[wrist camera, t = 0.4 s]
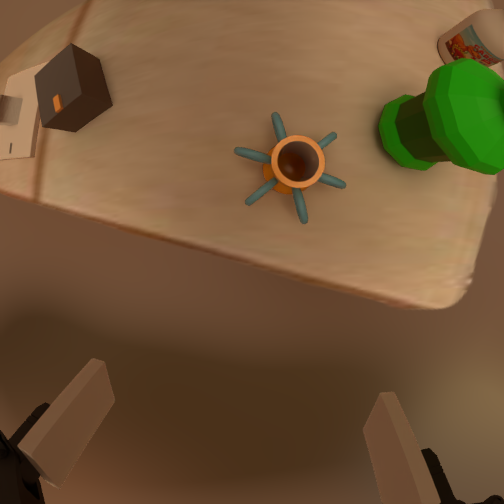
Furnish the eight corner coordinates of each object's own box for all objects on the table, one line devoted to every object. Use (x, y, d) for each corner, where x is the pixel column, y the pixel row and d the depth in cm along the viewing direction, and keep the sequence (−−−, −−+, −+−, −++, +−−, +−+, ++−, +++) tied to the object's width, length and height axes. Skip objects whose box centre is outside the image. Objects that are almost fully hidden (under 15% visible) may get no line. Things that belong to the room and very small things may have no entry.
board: (12, 77, 32) (-11, 72, 25) (53, 62, 32) (28, 53, 25) (-3, 160, 36) (-28, 161, 30) (34, 156, 36) (5, 157, 29)
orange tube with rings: (229, 194, 36) (200, 203, 21) (253, 118, 33) (240, 78, 19) (319, 223, 36) (350, 252, 21) (344, 148, 33) (389, 129, 19)
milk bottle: (429, 33, 27) (496, -20, 7) (462, 40, 26) (529, 0, 7) (445, 74, 29) (527, 34, 9) (477, 79, 28) (555, 51, 8)
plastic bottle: (380, 179, 34) (522, 189, 10) (359, 103, 32) (469, 16, 7) (438, 168, 33) (578, 174, 8) (419, 98, 30) (542, 43, 6)
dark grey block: (64, 85, 33) (31, 75, 24) (99, 59, 32) (68, 41, 23) (75, 132, 35) (39, 126, 26) (112, 105, 34) (79, 92, 25)
